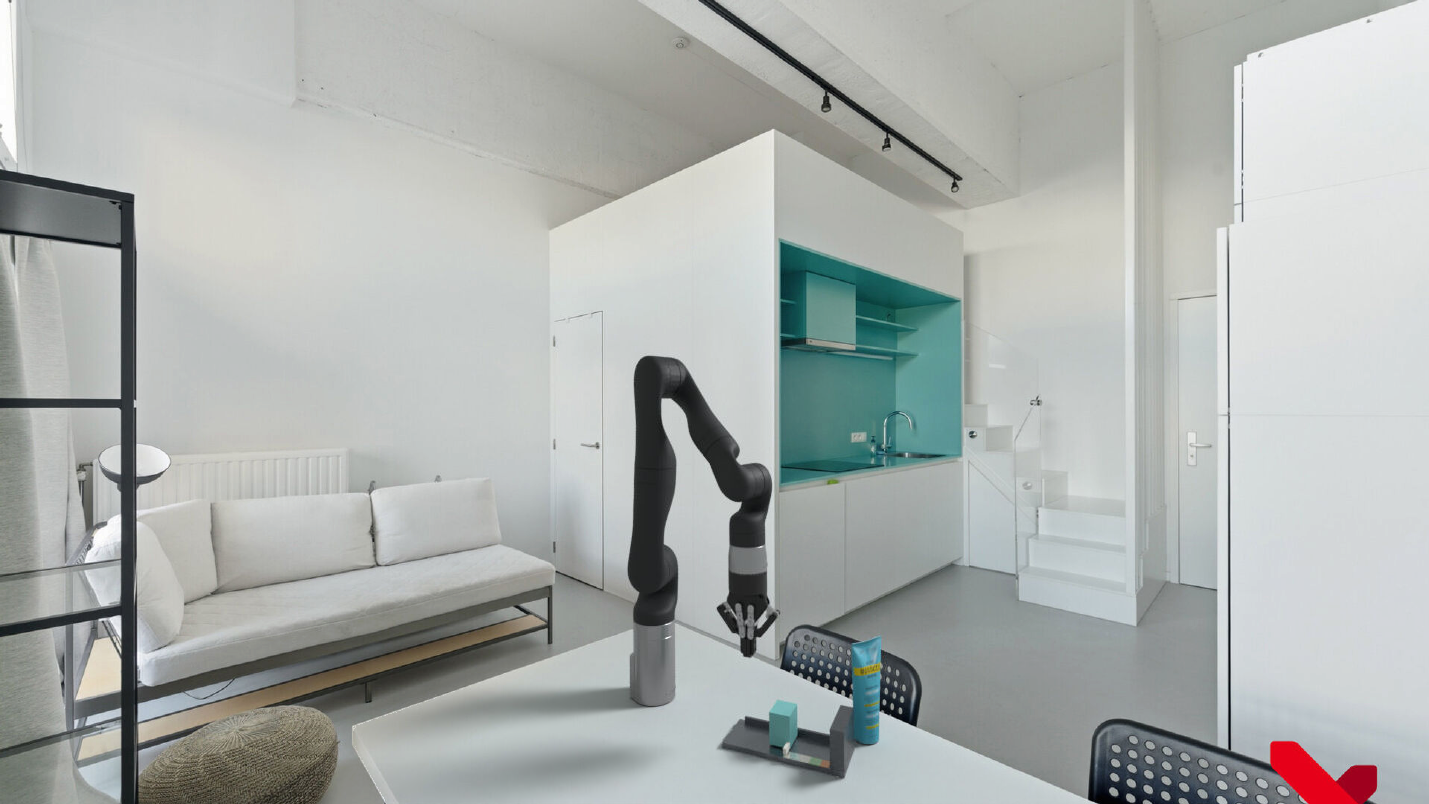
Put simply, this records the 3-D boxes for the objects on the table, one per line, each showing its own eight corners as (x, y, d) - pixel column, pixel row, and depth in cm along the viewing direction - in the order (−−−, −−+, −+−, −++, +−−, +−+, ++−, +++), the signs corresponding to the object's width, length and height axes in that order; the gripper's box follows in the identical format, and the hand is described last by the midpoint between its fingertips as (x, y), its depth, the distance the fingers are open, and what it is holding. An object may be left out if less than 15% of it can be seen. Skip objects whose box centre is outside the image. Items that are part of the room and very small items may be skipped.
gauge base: (722, 747, 113) (722, 705, 113) (739, 723, 121) (739, 684, 121) (844, 778, 103) (843, 732, 103) (854, 750, 112) (853, 707, 112)
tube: (862, 750, 112) (861, 647, 112) (843, 738, 116) (843, 639, 116) (889, 737, 116) (888, 638, 116) (870, 726, 120) (869, 630, 120)
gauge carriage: (765, 750, 109) (765, 718, 109) (777, 730, 116) (777, 699, 116) (786, 755, 108) (786, 722, 108) (797, 735, 114) (797, 703, 114)
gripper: (708, 568, 115) (709, 658, 115) (774, 575, 110) (775, 670, 110) (723, 558, 122) (724, 643, 122) (786, 565, 116) (787, 653, 117)
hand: (748, 655), depth 116 cm, fingers closed
